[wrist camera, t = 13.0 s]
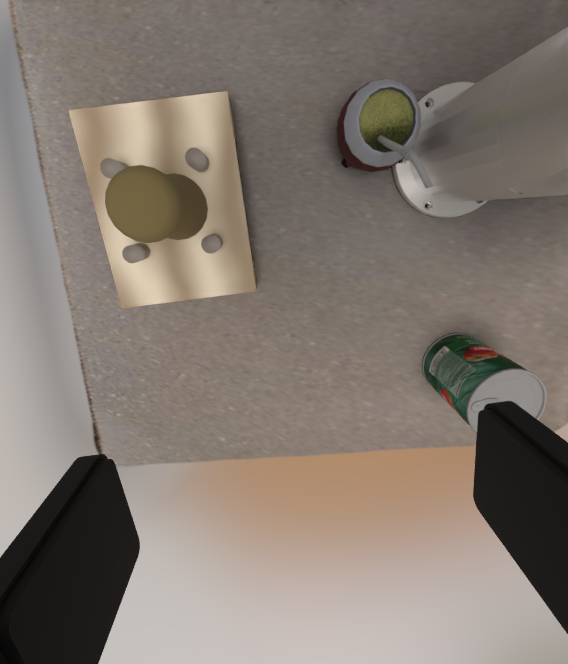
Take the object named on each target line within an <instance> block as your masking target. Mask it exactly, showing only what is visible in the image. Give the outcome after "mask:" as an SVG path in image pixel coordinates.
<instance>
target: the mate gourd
mask: <svg viewBox="0 0 568 664" xmlns="http://www.w3.org/2000/svg"><path fill="white" fill-rule="evenodd" d="M420 128H421V110H420V107H419V105H418V102H417V100H416V97H415V95H414V94H413V93H412V92H411V91H410V90H409V89H408V88H407V87H406V86H405V85H404V84H403V83H400V82H397V81H394V80H391V79H383V80H376V81H372V82H369V83H367V84H366V85H364V86H363V87H361V88H360V89H358V90H357V91H355V92H354V93H353V94H352V95H351V96H350V98H349V99H348V101H347V102H346V104H345V105H344V107H343V108H342V110H341V114H340V118H339V119H338V126H337V137H338V145H339V148H340V150H341V152H342V154H343V156H344V160H343V161H342V165H343V166H344V167H346V168H347V167H348V166H352V167H355V168H358V169H362V170H366V171H369V172H373V171H380V170H386V169H388V168H390V167H392V166H393V165H395V164H397V163H398V162H400V161H401V160H403V159H405V160H407V161H411V163H412V164H413V166H414V167H415V169H416V171H417V173H418V174H419V176H420V178H421V180H422V182H423V184H424V186H425V188H426V189H427V188H430V187H432V186H433V184H432V182H431V180H430V178H429V176H428V174H427V172H426V170H425V168H424V166H423V164H422V162H421V161H420V159H419V158H418V156H417V155H416V152H415V150H414V149H412V147H413V146H414V145H415V143H416V140H417V137H418V134H419V131H420Z"/></svg>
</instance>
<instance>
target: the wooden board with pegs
mask: <svg viewBox="0 0 568 664" xmlns="http://www.w3.org/2000/svg"><path fill="white" fill-rule="evenodd" d="M69 114H70V118H71V121H72V125H73V129H74V133H75V136H76V140H77V144H78V147H79V151H80V155H81V159H82V162H83V166H84V170H85V173H86V177H87V181H88V185H89V188H90V192H91V196H92V199H93V203H94V207H95V210H96V214H97V218H98V222H99V225H100V229H101V233H102V236H103V240H104V244H105V248H106V251H107V255H108V259H109V262H110V266H111V270H112V274H113V277H114V281H115V285H116V288H117V292H118V296H119V299H120V303H121V307H122V308H128V307H136V306H143V305H151V304H159V303H167V302H175V301H183V300H191V299H199V298H207V297H214V296H222V295H230V294H238V293H246V292H254V291H256V290H257V279H256V272H255V265H254V258H252V254H251V247H250V240H249V234H248V227H247V220H246V213H245V206H244V199H243V192H242V185H241V178H240V171H239V164H238V157H237V151H236V144H235V138H236V133H235V126H234V119H233V112H232V105H231V101H230V98H229V95H228V91H224V92H216V93H207V94H199V95H191V96H183V97H174V98H166V99H158V100H150V101H141V102H133V103H125V104H117V105H108V106H100V107H92V108H83V109H75V110H69ZM137 165H144V166H148V167H153V168H155V169H157V170H159V171H161V172H162V173H164V174H172V173H176V174H180V175H185V176H186V177H188V178H190V179H192V180H193V181H194V182H195V183H196V184H197V185H198V186H199V187H200V188H201V189H202V191H203V193H204V195H205V197H206V201H207V206H208V212H207V219H206V221H205V224H204V226H203V228H202V229H201V230H200V231H199V232H198V233H197V234H196V235H194V236H192V237H190V238H188V239H182V240H175V239H169V238H166V239H164V240H162V241H159V242H153V243H143V242H138V241H135V240H133V239H131V238H129V237H127V236H125V235H123V234H122V233H121V232H120V231H119V230H118V229H117V228H116V227H115V226H114V225H113V223H112V221H111V220H110V218H109V216H108V213H107V209H106V206H105V192H106V189H107V187H108V184H109V182H110V180H111V179H112V178H113V177H114V176H115V175H116V173H118V172H119V171H121V170H123V169H125V168H127V167H129V166H137Z"/></svg>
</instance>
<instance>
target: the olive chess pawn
mask: <svg viewBox="0 0 568 664" xmlns="http://www.w3.org/2000/svg"><path fill="white" fill-rule="evenodd" d="M105 206H106V209H107V213H108V216H109V218H110V220H111V221H112V223H113V225H114V226H115V227H116V228H117V229H118V230H119V231H120V232H121V233H122V234H123V235H125V236H127V237H129V238H131V239H133V240H135V241H138V242H143V243H153V242H159V241H162V240H164V239H166V238H169V239H175V240H182V239H188V238H190V237H192V236H194V235H196V234H197V233H198V232H199V231H200V230H201V229H202V228H203V226H204V224H205V221H206V219H207V212H208V206H207V201H206V197H205V195H204V193H203V191H202V189H201V188H200V187H199V186H198V185H197V184H196V183H195V182H194V181H193V180H192V179H190V178H188V177H186V176H185V175H180V174H176V173H172V174H164V173H162V172H161V171H159V170H157V169H155V168H153V167H148V166H144V165H137V166H129V167H127V168H125V169H123V170H121V171H119V172H118V173H116V175H115V176H114V177H113V178H112V179H111V180H110V182H109V184H108V187H107V189H106V192H105Z"/></svg>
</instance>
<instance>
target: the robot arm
mask: <svg viewBox="0 0 568 664" xmlns="http://www.w3.org/2000/svg"><path fill="white" fill-rule="evenodd" d="M425 103H427V104H428V107H426V106H425ZM418 105H419V107H420V110H421V128H420V131H419V134H418V137H417V140H416V143H415V145H414V146H413V147H412V149H414V150H415V152H416V155H417V156H418V158H419V159H420V161H421V162H422V164H423V166H424V168H425V170H426V172H427V174H428V176H429V178H430V180H431V182H432V184H433V186H432V187H430V188H427V189H426V188H425V186H424V184H423V182H422V180H421V178H420V176H419V174H418V173H417V171H416V169H415V167H414V166H413V164H412V163H411V161H407V160H405V159H403V160H402V161H401V163H399V162H398V163H397V164H395V165H393V166H392V169H393V176H394V179H395V182H396V185H397V188H398V190H399V191H400V193H401V195H402V196H403V198H404V199H405V200H406V201H407V202H408V203H409V204H410V206H412V207H413V208H415V209H416V210H417V211H419V212H421V213H423V214H426V215H428V216H433V217H438V218H450V217H458V216H462V215H465V214H468V213H470V212H472V211H474V210H476V209H478V208H480V207H481V206H482V205H484V204H485V203H486V202H487V201H489V200H498V199H514V198H530V197H547V196H561V195H568V27H566V28H564V29H563V30H561V31H560V32H558V33H556V34H555V35H553V36H551V37H550V38H548V39H547V40H545V41H544V42H542V43H540V44H539V45H537V46H535V47H534V48H532V49H531V50H529V51H527V52H526V53H524V54H523V55H521V56H519V57H518V58H516V59H514V60H513V61H511V62H510V63H508V64H506V65H505V66H503V67H502V68H500V69H498V70H497V71H495V72H493V73H492V74H490V75H489V76H487V77H485V78H484V79H482V80H481V81H479V82H477V83H473V82H454V83H450V84H446V85H443V86H441V87H439V88H437V89H435V90H433V91H431V92H430V93H428V94H427V95H425V96H424V97H423V98H422V99H421V100H419V101H418ZM425 203H426V204H427V207H426V208H425ZM473 492H474V493H473V497H474V501H475V504H476V506H477V508H478V510H479V511H480V513H481V514H482V516H483V517H484V519H485V520H486V521H487V523H488V524H489V526H490V527H491V528H492V530H493V531H494V532H495V534H496V535H497V537H498V538H499V539H500V541H501V542H502V543H503V545H504V546H505V548H506V549H507V550H508V552H509V553H510V555H511V556H512V557H513V559H514V560H515V561H516V563H517V564H518V566H519V567H520V569H521V570H522V571H523V573H524V574H525V575H526V577H527V578H528V580H529V581H530V582H531V584H532V585H533V587H534V588H535V589H536V591H537V592H538V593H539V595H540V596H541V598H542V599H543V600H544V602H545V603H546V605H547V606H548V607H549V609H550V610H551V612H552V613H553V614H554V616H555V617H556V618H557V620H558V621H559V623H560V624H561V626H562V627H563V628H564V630H565V631H566V633H567V634H568V443H567V442H566V441H565V440H564V439H562V438H561V437H560V436H558V435H557V434H555V433H554V432H553V431H552V430H550V429H549V428H548V427H546V426H545V425H544V424H542V423H541V422H540V421H538V420H537V419H536V418H534V417H533V416H532V415H530V414H529V413H528V412H526V411H525V410H524V409H523V408H521V407H520V406H519V405H517V404H516V403H514V402H512V401H503V402H496V403H488V404H486V405H485V407H484V410H481V411H480V412H479V413H478V424H477V441H476V458H475V474H474V491H473ZM139 549H140V543H139V537H138V535H137V531H136V528H135V525H134V522H133V518H132V516H131V512H130V509H129V506H128V503H127V500H126V497H125V494H124V490H123V487H122V484H121V481H120V478H119V475H118V472H117V469H116V466H115V463H114V461H113V460H112V459H108V458H107V457H106V456H105V455H103V454H99V455H91V456H84V457H79V458H77V459H76V460H75V461H74V463H73V464H72V465H71V467H70V468H69V469H68V471H67V472H66V473H65V475H64V476H63V477H62V478H61V480H60V481H59V483H57V485H56V486H55V488H54V489H53V490H52V491H51V493H50V494H49V495H48V496H47V498H46V499H45V501H44V502H43V503H42V504H41V506H40V507H39V508H38V510H37V511H36V512H35V513H34V515H33V516H32V517H31V519H30V520H29V521H28V522H27V524H26V525H25V526H24V528H23V529H22V530H21V532H20V533H19V534H18V535H17V537H16V538H15V539H14V541H13V542H12V543H11V545H10V546H9V547H8V549H7V550H6V551H5V552H4V554H3V555H2V556H1V558H0V664H98V663H99V660H100V657H101V655H102V652H103V649H104V646H105V644H106V641H107V638H108V636H109V633H110V630H111V628H112V625H113V622H114V620H115V617H116V614H117V611H118V609H119V606H120V603H121V601H122V598H123V595H124V593H125V590H126V587H127V585H128V582H129V579H130V576H131V574H132V571H133V568H134V565H135V563H136V560H137V558H138V554H139Z"/></svg>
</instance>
